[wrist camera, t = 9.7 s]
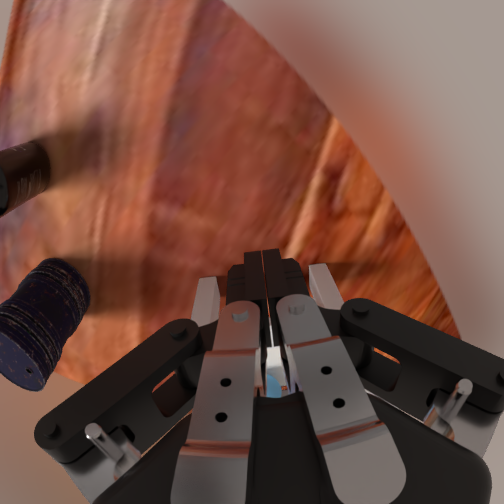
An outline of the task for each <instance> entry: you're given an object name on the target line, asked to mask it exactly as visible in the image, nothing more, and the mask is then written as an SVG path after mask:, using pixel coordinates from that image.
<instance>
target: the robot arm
mask: <svg viewBox="0 0 504 504" xmlns="http://www.w3.org/2000/svg"><path fill="white" fill-rule="evenodd" d="M262 254H263V262H264V271H265V280H266V288H267V297H268V304H269V312H270V320H271V328H272V336H273V344H274V347H276V346H279V348H280V356H281V364H282V368H283V372H284V377H285V381H286V385H287V389H288V393H289V395H286V396H283V397H280V398H272V397H267V360H266V359H267V355H268V354H267V348H269V347H272V342H271V333H270V324H269V315H268V306H267V297H266V289H265V281H264V273H263V265H262V257H261V251H253V252H245V253H244V264H239V265H233V266H232V267H231V269H230V270H229V271H228V281H227V295H226V306H225V307H224V308H223V309H222V310H221V312H220V315H219V319H217V320H216V321H214V322H212V323H209V324H207V325H203V326H200V327H198V324H197V323H196V322H195V321H193V320H190V319H177V320H174V321H171V322H169V323H167V324H166V325H165V326H163V327H162V328H161V329H159V330H158V331H157V332H155V333H154V334H153V335H151V336H150V337H149V338H147V339H146V340H145V341H143V342H142V343H141V344H139V345H138V346H137V347H136V348H134V349H133V350H132V351H130V352H129V353H128V354H126V355H125V356H124V357H122V358H121V359H120V360H118V361H117V362H116V363H114V364H113V365H112V366H110V367H109V368H108V369H106V370H105V371H104V372H102V373H101V374H100V375H98V376H97V377H96V378H94V379H93V380H92V381H90V382H89V383H88V384H86V385H85V386H84V387H82V388H81V389H80V390H78V391H77V392H76V393H74V394H73V395H72V396H70V397H69V398H68V399H66V400H65V401H64V402H62V403H61V404H60V405H58V406H57V407H56V408H54V409H53V410H51V411H50V412H49V413H48V414H46V415H45V416H44V417H42V418H41V419H40V420H39V421H38V423H37V425H36V427H35V430H34V438H35V441H36V443H37V444H38V445H39V446H40V447H41V448H42V449H43V450H44V451H46V452H47V453H48V454H49V455H50V456H51V457H52V458H53V459H54V460H55V461H56V462H57V463H58V464H60V465H61V466H62V467H64V469H65V470H66V472H67V473H68V475H69V476H70V477H71V479H72V480H73V482H74V483H75V484H76V486H77V487H78V489H79V490H80V491H81V493H82V494H83V495H84V497H85V498H86V499H87V500H88V502H89V503H90V504H489V502H490V496H491V489H492V480H491V474H490V471H489V468H488V466H487V465H486V463H485V462H484V460H483V459H482V458H483V456H484V454H485V452H486V449H487V447H488V445H489V443H490V440H491V438H492V436H493V433H494V431H495V428H496V426H497V423H498V421H499V418H500V416H501V415H502V413H503V412H504V359H502V358H500V357H498V356H495V355H493V354H491V353H489V352H487V351H484V350H482V349H480V348H478V347H475V346H473V345H471V344H469V343H466V342H464V341H462V340H460V339H457V338H455V337H453V336H451V335H448V334H446V333H444V332H442V331H439V330H437V329H435V328H433V327H430V326H428V325H426V324H424V323H421V322H419V321H417V320H415V319H412V318H410V317H408V316H405V315H403V314H401V313H399V312H396V311H394V310H392V309H390V308H387V307H385V306H383V305H381V304H378V303H376V302H374V301H371V300H369V299H364V298H355V299H351V300H348V301H346V302H345V303H344V304H343V305H342V306H341V309H340V310H337V309H327V308H323V307H320V306H318V305H317V304H316V302H315V300H314V299H313V298H311V297H310V295H309V292H308V289H307V286H306V283H305V280H304V277H303V274H302V272H301V268H300V265H299V263H298V262H297V261H295V260H294V259H293V258H288V259H281V256H280V252H279V248H278V249H269V250H262ZM374 347H375V348H377V349H379V350H381V351H383V352H385V353H387V354H389V355H391V356H393V357H394V358H396V359H397V360H398V361H399V362H400V364H401V365H400V364H398V363H396V362H395V361H393V360H391V359H389V358H387V357H385V356H383V355H381V354H379V353H377V352H375V351H374ZM173 371H174V372H175V374H174V375H173V376H172V377H170V378H169V379H168V380H167V381H166V382H165V383H163V384H162V385H161V386H160V387H159V388H157V389H156V390H155V391H154V392H153V393H152V391H153V389H154V387H155V386H156V385H157V384H158V383H160V382H161V381H162V380H163V379H164V378H166V377H167V376H168V375H169V374H170V373H171V372H173ZM365 389H366V390H367V391H369V392H371V393H373V394H374V395H373V394H370V393H366V391H365ZM375 395H376V396H375ZM377 396H378V397H377ZM379 397H380V398H379ZM384 400H385V401H384ZM386 401H387V402H386ZM389 403H390V404H389ZM391 404H392V405H394V406H395V407H394V406H392V405H391ZM396 407H397V408H399V409H401V410H403V411H405V412H406V413H408V414H410V415H412V416H414V417H415V418H417V419H419V420H421V421H423V422H424V424H423V423H421V422H419V421H418V420H416V419H414V418H412V417H411V416H409V415H407V414H406V413H404V412H402V411H401V410H399V409H397V408H396ZM192 408H193V411H192V413H191V414H189V415H188V416H186V417H185V418H183V417H184V416H185V415H186V414H187V413H188V412H189V411H190V410H191V409H192ZM181 418H183V419H182V420H181ZM179 420H181V421H180V422H178V421H179ZM177 422H178V423H177ZM176 423H177V424H176ZM175 424H176V425H175ZM174 425H175V426H174ZM173 426H174V427H173ZM172 427H173V428H172ZM171 428H172V429H171ZM170 429H171V430H170ZM169 430H170V431H169ZM167 431H169V432H168V433H167V434H166V435H165V436H164V437H163V438H162V439H161V440H160V441H159V442H158V443H157V444H156V445H155V446H154V447H152V448H151V449H150V450H149V451H148V452H147V453H146V454H145V455H144V456H143V457H142V458H141V454H143V453H144V452H145V451H146V450H147V449H148V448H149V447H151V445H153V444H154V443H155V442H156V441H157V440H159V439H160V438H161V437H162V436H163V435H164V434H165V433H166V432H167Z"/></svg>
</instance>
